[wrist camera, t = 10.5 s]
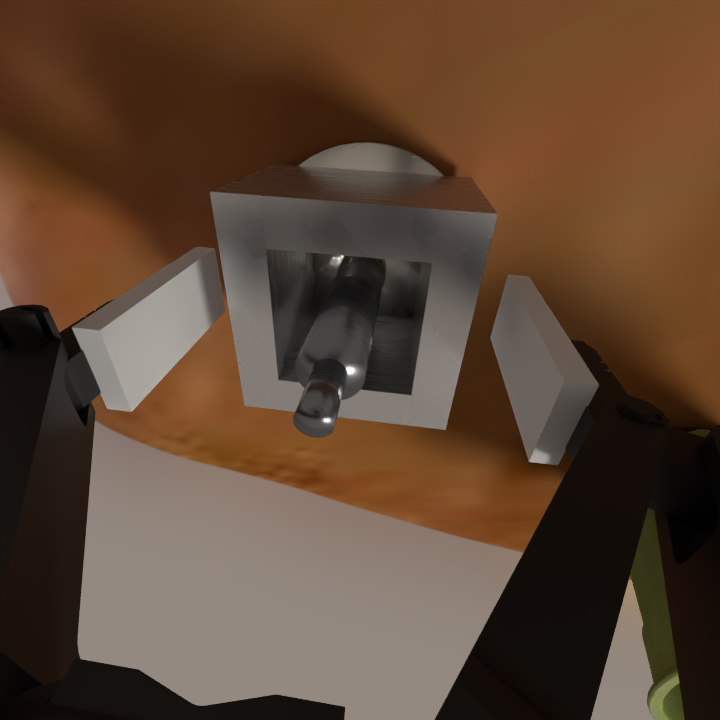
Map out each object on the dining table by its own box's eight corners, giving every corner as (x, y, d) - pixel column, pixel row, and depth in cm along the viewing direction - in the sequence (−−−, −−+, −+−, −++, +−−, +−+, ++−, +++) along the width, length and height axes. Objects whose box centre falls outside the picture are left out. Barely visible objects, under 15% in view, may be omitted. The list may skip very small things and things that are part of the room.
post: (251, 133, 16) (24, 175, 7) (499, 150, 15) (627, 222, 6) (272, 341, 21) (164, 517, 12) (452, 360, 20) (480, 563, 11)
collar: (274, 163, 16) (209, 191, 11) (471, 177, 15) (497, 213, 10) (286, 331, 20) (244, 405, 15) (438, 347, 20) (445, 429, 15)
